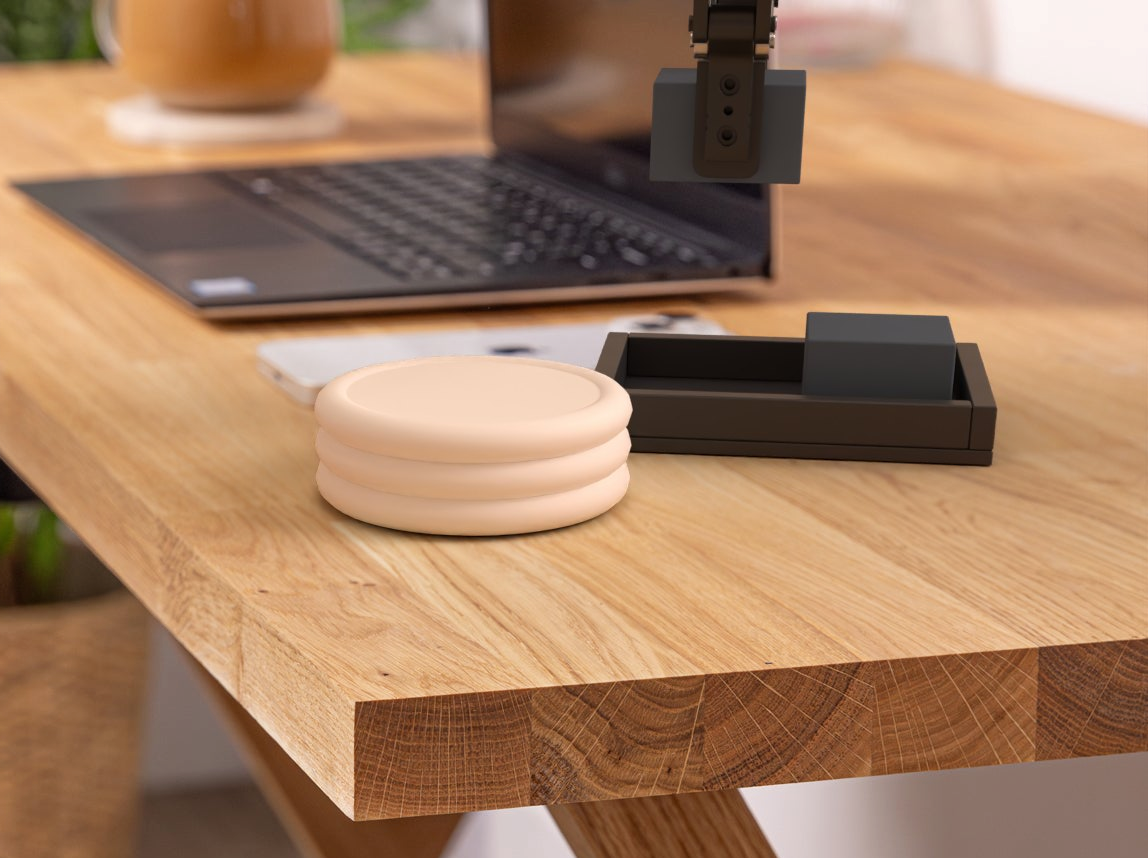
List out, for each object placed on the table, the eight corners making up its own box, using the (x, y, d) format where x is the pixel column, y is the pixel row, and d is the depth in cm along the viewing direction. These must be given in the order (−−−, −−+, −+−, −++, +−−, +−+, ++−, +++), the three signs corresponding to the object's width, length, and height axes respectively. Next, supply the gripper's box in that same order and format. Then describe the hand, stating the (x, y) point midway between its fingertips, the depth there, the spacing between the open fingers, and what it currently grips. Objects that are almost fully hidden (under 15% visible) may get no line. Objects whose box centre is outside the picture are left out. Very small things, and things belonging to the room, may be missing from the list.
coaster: (545, 440, 78) (547, 340, 77) (685, 518, 70) (690, 406, 68) (273, 472, 75) (270, 367, 73) (386, 557, 66) (385, 441, 65)
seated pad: (941, 397, 82) (948, 315, 80) (948, 430, 77) (957, 343, 76) (801, 392, 82) (806, 311, 81) (801, 424, 78) (807, 339, 77)
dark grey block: (800, 164, 79) (806, 69, 78) (800, 184, 75) (806, 85, 74) (657, 161, 80) (661, 67, 79) (649, 181, 76) (653, 82, 74)
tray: (972, 396, 84) (977, 342, 83) (992, 465, 75) (997, 406, 74) (606, 383, 86) (608, 331, 85) (584, 449, 77) (585, 392, 76)
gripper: (887, -412, 64) (842, 202, 70) (873, -377, 77) (836, 139, 83) (620, -408, 65) (601, 196, 71) (651, -374, 78) (632, 135, 84)
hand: (728, 162), depth 77 cm, fingers closed on dark grey block, 4 cm apart
